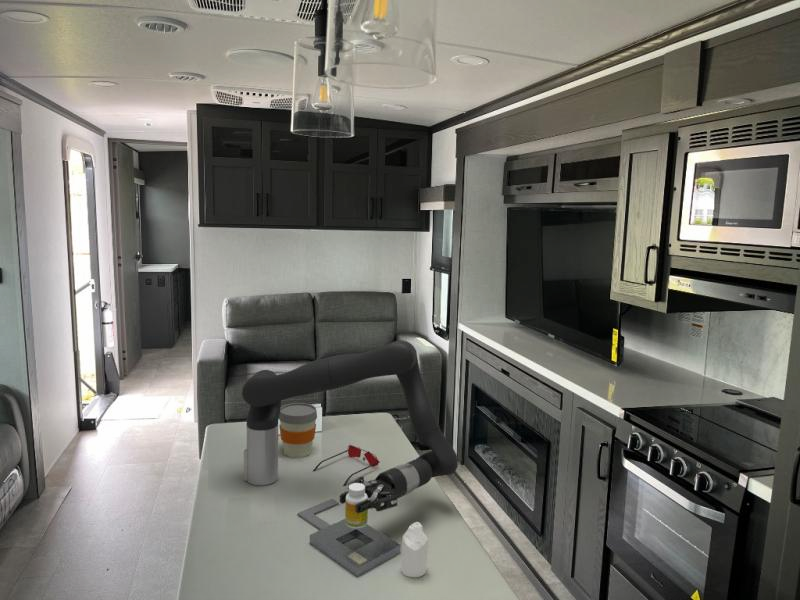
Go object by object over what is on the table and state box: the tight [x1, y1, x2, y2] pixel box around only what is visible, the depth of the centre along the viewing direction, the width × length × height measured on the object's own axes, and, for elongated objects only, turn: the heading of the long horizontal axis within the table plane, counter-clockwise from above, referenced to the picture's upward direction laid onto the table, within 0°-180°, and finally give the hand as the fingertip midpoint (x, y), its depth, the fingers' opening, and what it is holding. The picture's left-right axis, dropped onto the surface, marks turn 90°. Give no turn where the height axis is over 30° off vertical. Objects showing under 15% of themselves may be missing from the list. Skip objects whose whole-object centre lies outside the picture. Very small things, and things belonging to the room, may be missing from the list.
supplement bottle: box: [344, 483, 369, 529], centre depth 147 cm, size 5×5×10 cm
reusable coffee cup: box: [278, 402, 318, 459], centre depth 201 cm, size 13×12×15 cm
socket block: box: [309, 518, 402, 578], centre depth 149 cm, size 18×14×2 cm
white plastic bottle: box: [400, 521, 429, 578], centre depth 140 cm, size 6×12×6 cm
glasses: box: [312, 444, 381, 487], centre depth 190 cm, size 14×16×5 cm
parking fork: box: [296, 498, 340, 531], centre depth 162 cm, size 12×14×1 cm
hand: (348, 504), depth 145 cm, fingers closed on supplement bottle, 5 cm apart
